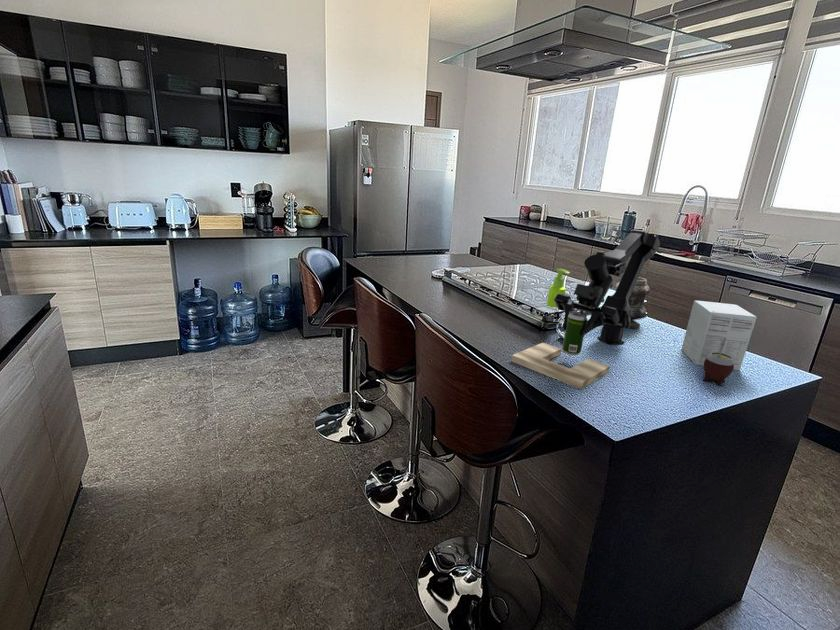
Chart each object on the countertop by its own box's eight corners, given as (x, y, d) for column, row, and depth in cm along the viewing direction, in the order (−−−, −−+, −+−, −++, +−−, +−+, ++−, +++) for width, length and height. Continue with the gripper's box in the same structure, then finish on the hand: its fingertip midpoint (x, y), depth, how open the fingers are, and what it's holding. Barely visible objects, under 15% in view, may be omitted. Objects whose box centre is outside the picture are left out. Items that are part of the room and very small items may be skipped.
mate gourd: (717, 376, 135) (732, 328, 130) (736, 389, 127) (751, 339, 123) (693, 375, 134) (706, 327, 130) (710, 388, 127) (724, 337, 122)
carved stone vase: (633, 319, 182) (641, 275, 177) (649, 329, 171) (659, 282, 166) (603, 318, 181) (611, 273, 176) (618, 328, 170) (627, 280, 165)
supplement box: (741, 371, 140) (758, 317, 134) (694, 365, 142) (710, 311, 136) (722, 354, 152) (737, 304, 147) (680, 349, 154) (693, 299, 149)
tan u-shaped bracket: (542, 348, 147) (543, 342, 146) (608, 372, 133) (610, 366, 132) (511, 361, 136) (512, 355, 135) (580, 389, 121) (582, 382, 120)
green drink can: (582, 356, 134) (590, 317, 130) (564, 354, 134) (571, 316, 131) (577, 349, 139) (584, 311, 136) (559, 347, 140) (566, 310, 136)
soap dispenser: (553, 324, 170) (562, 272, 164) (541, 318, 176) (549, 267, 170) (565, 323, 173) (574, 271, 166) (552, 317, 179) (561, 266, 172)
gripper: (562, 267, 138) (537, 308, 134) (623, 281, 126) (598, 327, 122) (570, 288, 146) (547, 328, 142) (629, 303, 134) (605, 347, 130)
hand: (572, 332), depth 134 cm, fingers closed on green drink can, 5 cm apart
